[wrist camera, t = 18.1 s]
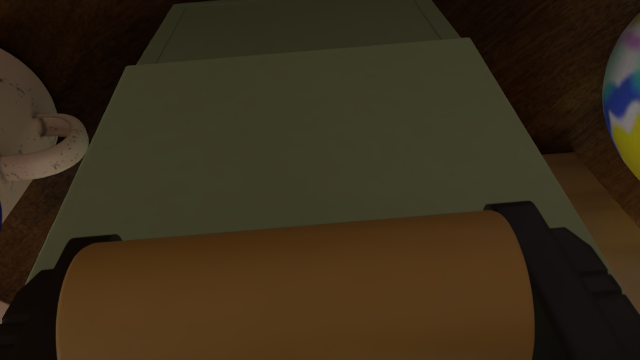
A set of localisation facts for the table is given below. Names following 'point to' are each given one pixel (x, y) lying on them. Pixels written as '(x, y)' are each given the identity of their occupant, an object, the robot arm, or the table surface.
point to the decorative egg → (624, 95)
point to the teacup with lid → (31, 133)
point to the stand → (601, 220)
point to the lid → (305, 212)
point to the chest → (290, 27)
